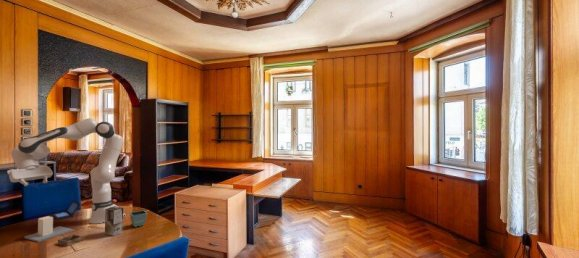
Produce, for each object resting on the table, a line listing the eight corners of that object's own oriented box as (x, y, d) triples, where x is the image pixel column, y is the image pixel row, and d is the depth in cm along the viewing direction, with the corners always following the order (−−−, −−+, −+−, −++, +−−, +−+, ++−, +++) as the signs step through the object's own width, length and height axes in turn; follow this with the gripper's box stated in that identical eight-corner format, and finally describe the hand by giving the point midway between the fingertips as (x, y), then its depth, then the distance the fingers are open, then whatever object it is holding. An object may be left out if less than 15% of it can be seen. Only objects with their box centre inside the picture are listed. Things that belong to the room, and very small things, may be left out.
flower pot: (129, 225, 179) (129, 212, 179) (143, 222, 185) (144, 210, 185) (132, 229, 173) (132, 215, 173) (146, 226, 179) (147, 213, 179)
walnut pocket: (73, 238, 157) (73, 234, 157) (82, 240, 154) (82, 236, 154) (57, 243, 149) (57, 239, 149) (66, 246, 146) (66, 242, 146)
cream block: (47, 231, 163) (48, 216, 163) (52, 233, 162) (52, 217, 162) (37, 234, 159) (38, 218, 159) (42, 236, 157) (43, 219, 157)
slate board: (59, 227, 173) (59, 226, 173) (73, 230, 168) (73, 229, 168) (24, 238, 156) (24, 236, 156) (38, 242, 151) (38, 240, 151)
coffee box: (123, 232, 167) (123, 207, 167) (113, 236, 161) (113, 210, 161) (114, 229, 171) (115, 205, 171) (104, 233, 165) (104, 208, 165)
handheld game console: (51, 216, 195) (51, 203, 195) (73, 211, 206) (73, 200, 206) (57, 220, 186) (57, 208, 186) (80, 215, 197) (80, 203, 197)
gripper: (7, 166, 156) (16, 183, 153) (49, 162, 176) (57, 177, 172) (3, 173, 158) (12, 190, 155) (45, 168, 177) (53, 183, 174)
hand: (36, 183), depth 163 cm, fingers open, 8 cm apart
